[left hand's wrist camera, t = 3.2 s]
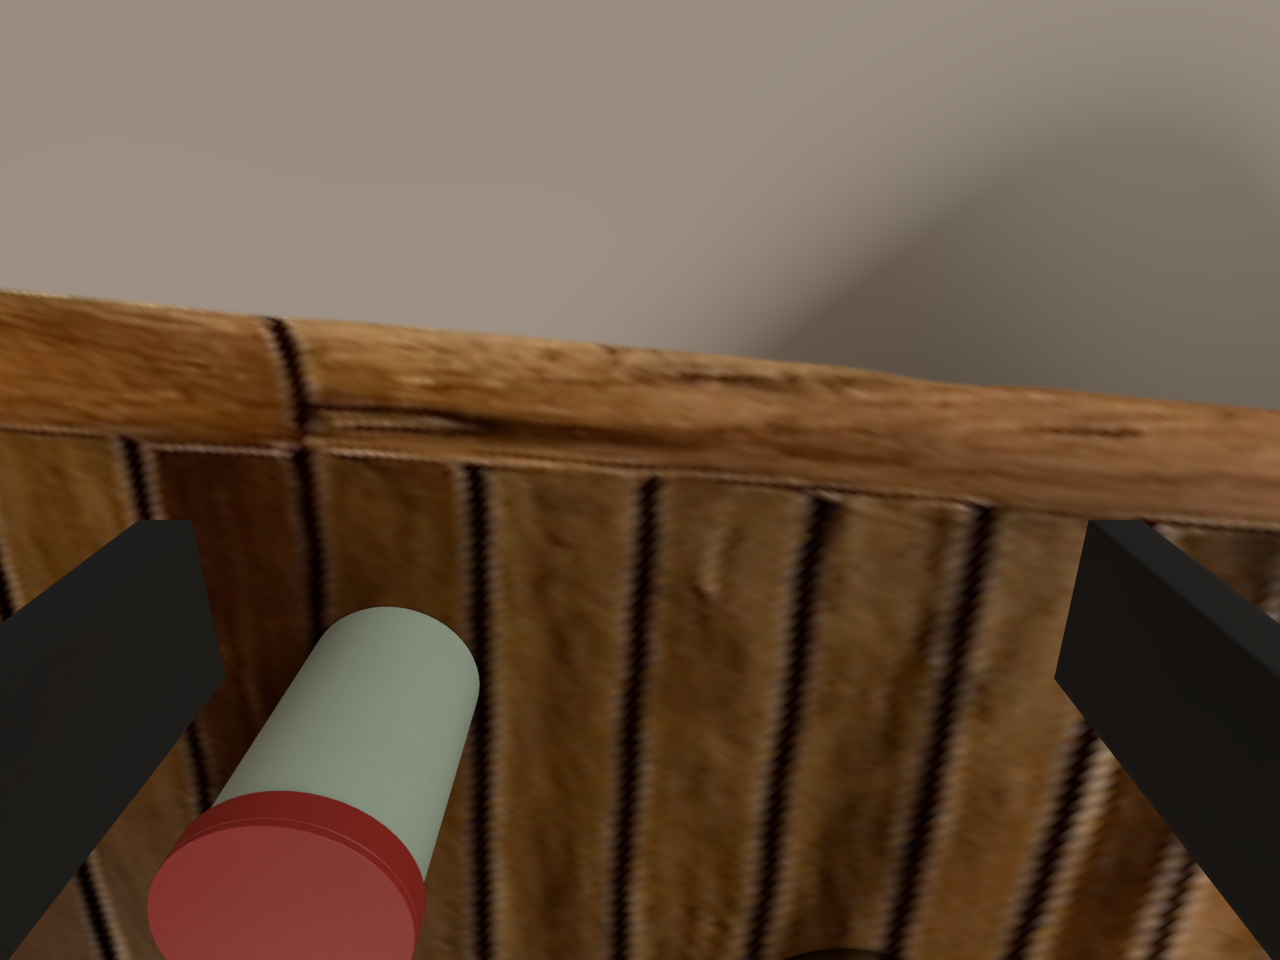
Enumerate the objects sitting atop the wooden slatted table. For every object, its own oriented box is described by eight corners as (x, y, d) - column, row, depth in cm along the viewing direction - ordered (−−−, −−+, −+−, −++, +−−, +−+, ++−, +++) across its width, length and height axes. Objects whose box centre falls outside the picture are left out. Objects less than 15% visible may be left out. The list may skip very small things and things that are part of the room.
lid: (290, 1010, 36) (273, 1052, 34) (117, 861, 33) (89, 900, 31) (477, 915, 34) (468, 956, 32) (310, 747, 31) (291, 783, 29)
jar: (385, 771, 49) (278, 1033, 34) (276, 658, 46) (110, 893, 32) (512, 698, 47) (457, 944, 33) (408, 576, 44) (295, 786, 30)
